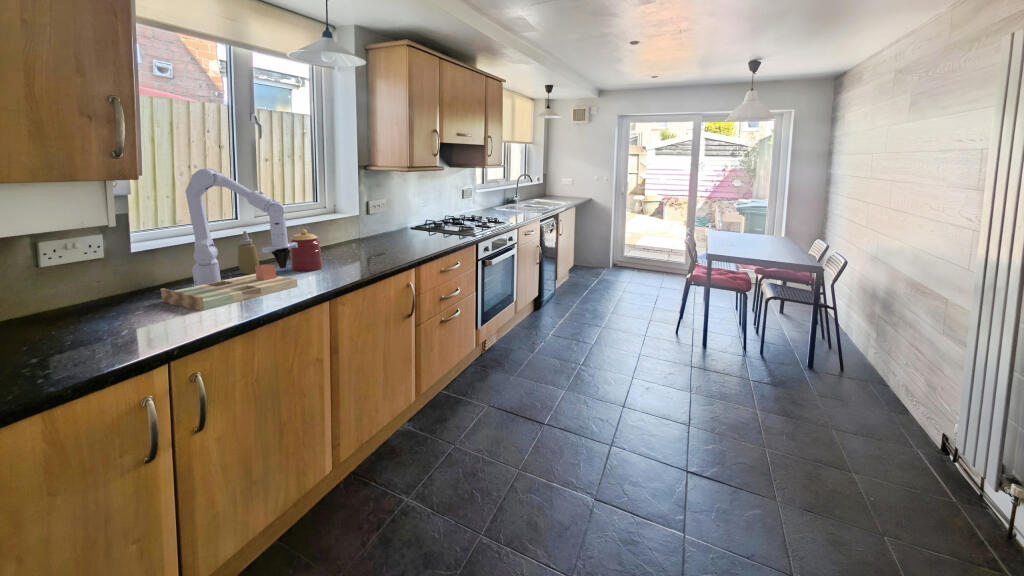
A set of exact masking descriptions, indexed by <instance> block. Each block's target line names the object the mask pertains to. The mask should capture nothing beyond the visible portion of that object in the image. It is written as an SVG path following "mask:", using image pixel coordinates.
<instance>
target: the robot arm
mask: <svg viewBox="0 0 1024 576" xmlns="http://www.w3.org/2000/svg"><path fill="white" fill-rule="evenodd" d="M212 187H222V188H227V189H228V190H230V191H232V192H234V193H236V194H238V195H240V196H241V197H244V198H245V199H246V200H247V203H248V204H249V205H252V206H253V207H255V209H258V210H260V211H261V212H263V213H266V214H267V215H268V217H269V229H270V238H271V245H268V246H265V247H263V246H262V247H261V250H262V253H265V254H267V253H271V254H272V256H274V258H275V260H276V262H277V264H278V267H279V269H286V268H287V262H288V258H289V257H290V248H297V247H298V244H297V243H296V242H293V243H290V242H289V240H288V239H289V238H288V229H287V222H286V216H285V213H286V208H285V206H284V205H283V204H282V203H281V202H280V201H277V200H276V199H275V198H271V197H270V196H267V195H265V193H264V191H261V190H260V191H259V190H253V191H252V190H251V189H248V188H247V187H246V186H244V185H242V184H241V183H239V182H238V181H235V180H234V179H232V178H231V177H229V176H227V175H225V174H224V173H221V172H219V171H218V172H217V170H215V169H213V168H200V169H198V170H196V172H194V173H193V174H192V175H191V177H190V180H189V182H188V183H187V186H186V189H185V197H186V201H187V205H188V206H187V207H188V210H189V216H190V221H191V226H192V230H193V235H194V244H193V245H194V252H193V259H194V261H195V264H194V265H193V266H192V270H191V271H192V276H193V284H192V285H191V287H193V286H198V285H203V284H208V283H213V282H217V281H222V279H221V271H220V264H219V260H217V258H218V255H219V250H218V248H217V247H216V245H215V244H214V240H213V239H212V236H211V231H210V226H209V221H208V218H207V212H206V211H207V210H206V207H205V202H204V194H205V193H206V192H208V190H209V189H210V188H212Z"/></svg>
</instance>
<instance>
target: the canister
mask: <svg viewBox="0 0 1024 576" xmlns="http://www.w3.org/2000/svg"><path fill="white" fill-rule="evenodd" d="M318 238H319V236H318V235H315V234H314V233H308V232H307V230H306V229H301V230H300V232H299V233H298V234H294V235H292V236H291V237H290V238H289V239H290V242H289V243H293V242H296V243H297V244H298V247H297V248H289V250H290V254H289V257H290V268H291V270H292V271H293V272H300V273H301V272H302V271H305V272H313V271H314V270H315V271H318V270H321V269H323V261H322V260H323V259H322V252H321V251H322V249H321V248H320V244H321V241H319V240H318ZM302 273H303V272H302Z"/></svg>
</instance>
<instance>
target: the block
mask: <svg viewBox="0 0 1024 576" xmlns="http://www.w3.org/2000/svg"><path fill="white" fill-rule="evenodd" d="M255 270H256V273H255V274H256V278H257V279H259V280H264V281H265V280H270V279H275V278H276V276H277V271H276V265H274V264H271V263H270V264H269V263H266V264H259V266H255Z"/></svg>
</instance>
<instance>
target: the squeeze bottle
mask: <svg viewBox="0 0 1024 576" xmlns="http://www.w3.org/2000/svg"><path fill="white" fill-rule="evenodd" d="M237 261H238V262H237V264H238V265H237V266H238V267H239V270H240V272H241V274H243V275H251V274H256V270H255V266H259V265H260V260H259V256H258V251H257V248H256V245H255V244H253V239H251V238H250V237H249V234H248V232H247V231H246V230H243V231H242V239H240V240H239V245H238V246H237Z"/></svg>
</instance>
